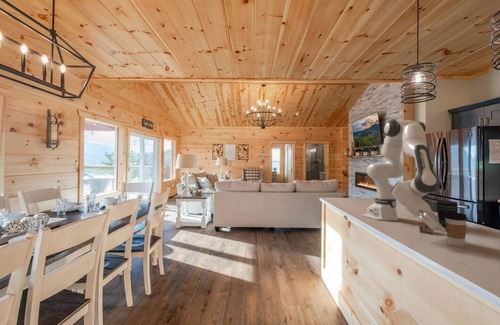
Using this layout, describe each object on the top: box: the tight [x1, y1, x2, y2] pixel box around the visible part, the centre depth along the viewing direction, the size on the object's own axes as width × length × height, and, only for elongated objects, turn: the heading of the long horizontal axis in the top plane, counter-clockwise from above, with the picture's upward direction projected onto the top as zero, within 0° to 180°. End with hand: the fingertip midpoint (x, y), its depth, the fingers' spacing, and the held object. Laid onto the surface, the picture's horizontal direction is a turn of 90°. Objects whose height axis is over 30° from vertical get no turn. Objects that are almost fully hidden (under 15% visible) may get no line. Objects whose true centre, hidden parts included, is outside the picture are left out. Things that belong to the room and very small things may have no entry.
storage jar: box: [436, 200, 459, 229], centre depth 143 cm, size 10×10×15 cm
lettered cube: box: [418, 219, 434, 235], centre depth 133 cm, size 6×6×6 cm
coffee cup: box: [444, 212, 468, 248], centre depth 112 cm, size 8×8×15 cm
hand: (444, 231), depth 115 cm, fingers closed, pressing on coffee cup
